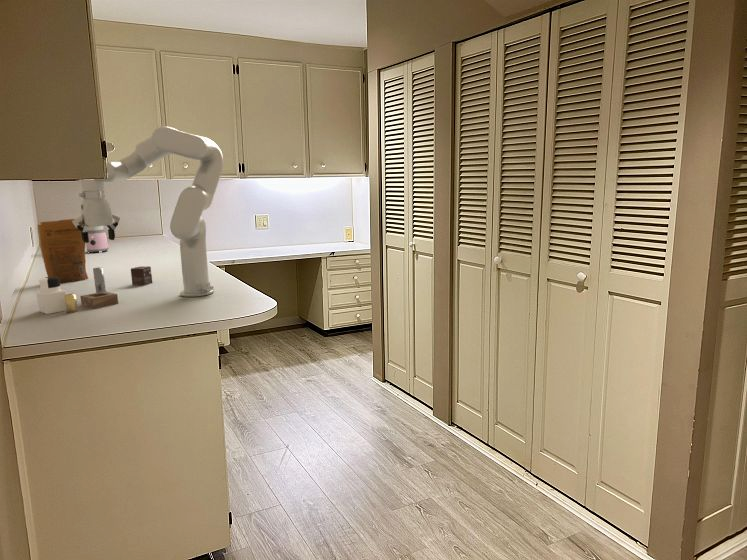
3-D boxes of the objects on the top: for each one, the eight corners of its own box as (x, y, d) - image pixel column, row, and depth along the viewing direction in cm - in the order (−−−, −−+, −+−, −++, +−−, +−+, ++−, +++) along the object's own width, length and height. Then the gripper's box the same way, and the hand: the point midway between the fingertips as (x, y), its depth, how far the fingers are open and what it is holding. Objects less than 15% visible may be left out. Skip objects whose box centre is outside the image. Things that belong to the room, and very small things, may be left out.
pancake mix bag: (93, 279, 251) (85, 218, 245) (45, 285, 240) (36, 221, 234) (90, 277, 256) (83, 217, 251) (43, 283, 245) (34, 220, 240)
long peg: (108, 298, 209) (104, 267, 207) (99, 300, 207) (95, 269, 204) (103, 297, 211) (100, 267, 209) (95, 299, 209) (91, 268, 206)
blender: (92, 251, 354) (85, 201, 348) (111, 250, 355) (105, 200, 349) (81, 254, 338) (74, 202, 332) (102, 253, 339) (95, 201, 333)
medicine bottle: (60, 307, 197) (55, 274, 195) (68, 310, 192) (64, 276, 190) (38, 311, 192) (33, 278, 189) (46, 314, 187) (41, 280, 185)
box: (144, 285, 233) (142, 268, 232) (131, 285, 235) (130, 268, 233) (152, 282, 239) (151, 266, 238) (140, 282, 240) (138, 266, 239)
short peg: (79, 311, 190) (77, 294, 189) (69, 313, 188) (67, 296, 187) (75, 310, 192) (72, 293, 191) (64, 312, 190) (62, 295, 189)
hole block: (118, 303, 201) (117, 293, 200) (93, 308, 194) (92, 298, 193) (105, 300, 206) (104, 291, 206) (81, 305, 199) (80, 296, 199)
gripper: (74, 197, 197) (80, 244, 200) (121, 195, 210) (126, 239, 213) (65, 196, 202) (71, 243, 205) (111, 194, 215) (116, 238, 218)
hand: (99, 241), depth 209 cm, fingers open, 9 cm apart
